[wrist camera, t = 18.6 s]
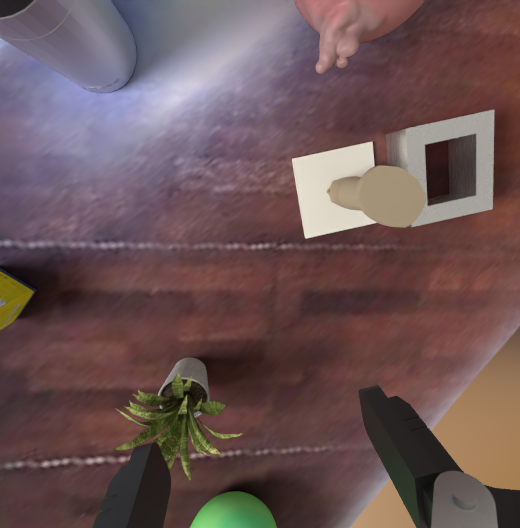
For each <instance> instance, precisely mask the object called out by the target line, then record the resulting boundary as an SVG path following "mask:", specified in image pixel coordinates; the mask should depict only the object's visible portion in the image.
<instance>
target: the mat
mask: <svg viewBox="0 0 520 528" xmlns="http://www.w3.org/2000/svg"><path fill="white" fill-rule="evenodd" d="M292 163H293V169H294V175H295V181H296V187H297V193H298V199H299V205H300V211H301V217H302V223H303V229H304V235H305V238H310V237H315V236H319V235H324V234H328V233H333V232H337V231H342V230H346V229H351V228H355V227H360V226H364V225H369V224H373V223H377V222H376V221H374V220H372V219H370V218H369V217H367V216H366V215H365V214H364V213H363V211H360V210H350V209H346V208H343V207H341V206H338V205H337V204H334V203H333V202H331V199H330V196H329V194H328V193H327V189H329V187H330V186H331V182H333V181H334V180H338V179H341V178H344V177H350V176H358V177H362V175H363V174H364V173H365V172H366V171H367V170H369V169H370V168H372V167H374V166H375V164H374V153H373V143H372V142H368V143H363V144H359V145H354V146H349V147H345V148H340V149H336V150H331V151H326V152H322V153H317V154H312V155H308V156H303V157H299V158H294V159H292Z"/></svg>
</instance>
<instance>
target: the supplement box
mask: <svg viewBox="0 0 520 528" xmlns="http://www.w3.org/2000/svg"><path fill="white" fill-rule="evenodd" d="M36 291H37V290H36V289H35V288H33V287H32V286H30V285H28V284H26V283H25V282H23V281H21V280H20V279H18V278H16V277H15V276H13V275H11V274H10V273H8V272H6V271H5V270H3V269H1V268H0V330H1V329H3V328H4V327H6V326H7V325H9V324H10V323H12V322H13V321H15V320H17V319H18V317H19V316H20V314H21V313H22V311H23V310H24V308H25V307H26V306H27V304H28V303H29V301H30V300H31V298H32V297H33V295H34V294H35V292H36Z"/></svg>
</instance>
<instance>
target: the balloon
mask: <svg viewBox="0 0 520 528" xmlns="http://www.w3.org/2000/svg"><path fill="white" fill-rule="evenodd" d="M424 1H425V0H294V2H295V4H296V6H297V8H298V10H299V11H300V13H301V15H302V16H303V18H304V19H305V20H306V21H307V23H308V24H309V25H310V26H311V27H312V28H313V29H314V30H316V31H317V32H318V33H319V34H320V43H319V52H320V56H319V61H318V63H317V64H316V71H317V73H319V74H323V73H325V72H326V71H327V70H328V69H329V68H330V67H331V66H332V65H333V64H334V65H335V66H336V67H339V68H344V67H346V66H347V65H348V60H349V59H348V58H349V56H352V55H354V54H355V53H356V52H357V50H358V48H359V43H362V42H367V41H371V40H374V39H376V38H379V37H381V36H383V35H385V34H387V33H389V32H391V31H392V30H394V29H395V28H397V27H398V26H400V25H401V24H402V23H403V22H405V21H406V20H407V19H408V18H409V17H410V16H411V15H412V14H413V13H414V12H415V11H416V10H417V9H418V8H419V7H420V6H421V5H422V4H423V2H424Z"/></svg>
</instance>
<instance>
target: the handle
mask: <svg viewBox="0 0 520 528" xmlns="http://www.w3.org/2000/svg"><path fill="white" fill-rule="evenodd" d="M327 193H328V194H329V196H330V199H331V202H333V203H334V204H337V205H338V206H341V207H343V208H346V209H350V210H360V211H363V213H364V214H365V215H366V216H367V217H369V218H370V219H372V220H374V221H376V222H377V223H380V224H382V225H386V226H391V227H407V226H409V225H410V224H412V223H413V222H414V221H415V220H416V219H417V218H418V217H419V215H420V214H421V212H422V211H423V208H424V206H425V202H426V194H425V192H424V190H423V188H422V186H421V185H420V183H419V181H418V180H417V179H416V178H415V177H414V176H412V175H411V174H409V173H408V172H406V171H405V170H403V169H401V168H399V167H394V166H374V167H372V168H370V169H369V170H367V171H366V172H365V173H364V174H363V175H362V177H358V176H350V177H344V178H341V179H338V180H334V181H333V182H331V186H330V187H329V189H327Z"/></svg>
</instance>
